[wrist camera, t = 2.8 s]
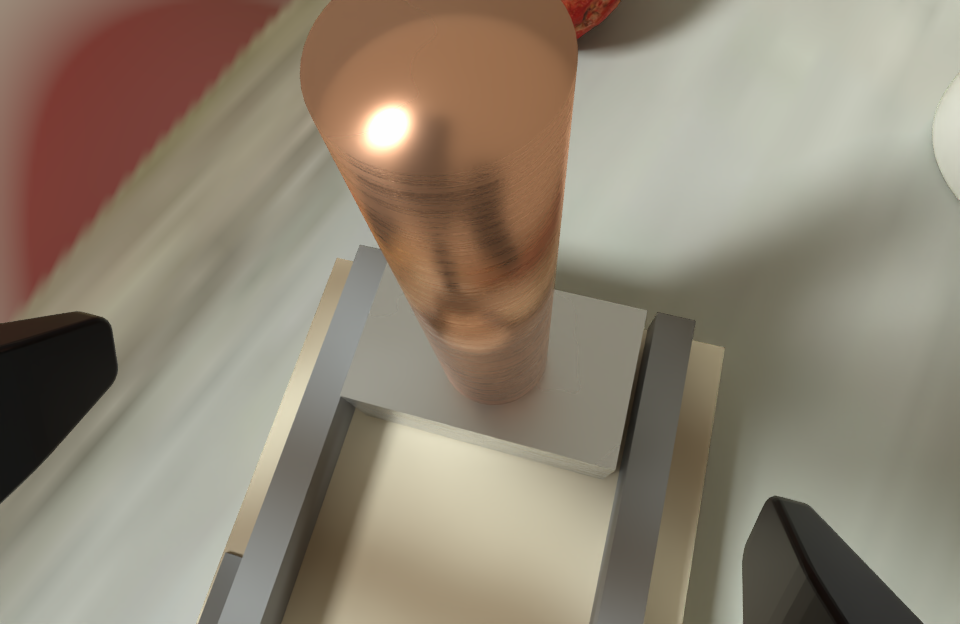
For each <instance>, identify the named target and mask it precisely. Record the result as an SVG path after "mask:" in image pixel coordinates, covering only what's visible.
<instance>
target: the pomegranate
mask: <svg viewBox="0 0 960 624" xmlns="http://www.w3.org/2000/svg"><path fill="white" fill-rule="evenodd" d="M561 1H562V3H563V4H564V5H565V7H566V9H567V11H568V13H569V15H570V17H571V19H572V22H573V25H574V29H575V32H576V37H577V39H578V38H580V37H581V36H582V35H584V34H585V33H586V32H588V31H590V30H591V29H592V28H594V27H595V26H597V25H599V24H600V23H601V22H602V21H603V20H604V19H605V18H606V17H607V16H608V15H609V14H610V13H611V12H612V11H613V10H614V9H615V8H616V7H617V5H618V4H619V2H620V1H621V0H561Z"/></svg>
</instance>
